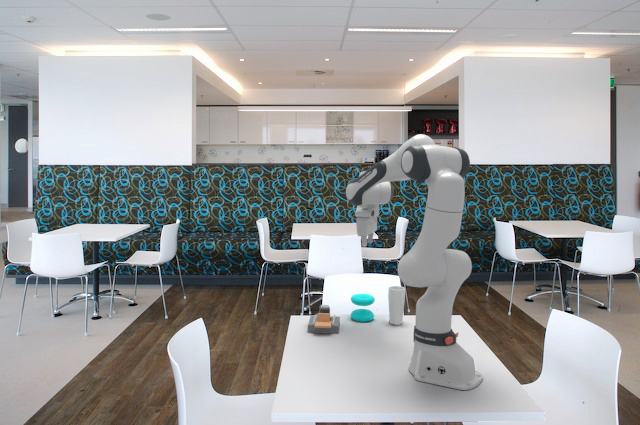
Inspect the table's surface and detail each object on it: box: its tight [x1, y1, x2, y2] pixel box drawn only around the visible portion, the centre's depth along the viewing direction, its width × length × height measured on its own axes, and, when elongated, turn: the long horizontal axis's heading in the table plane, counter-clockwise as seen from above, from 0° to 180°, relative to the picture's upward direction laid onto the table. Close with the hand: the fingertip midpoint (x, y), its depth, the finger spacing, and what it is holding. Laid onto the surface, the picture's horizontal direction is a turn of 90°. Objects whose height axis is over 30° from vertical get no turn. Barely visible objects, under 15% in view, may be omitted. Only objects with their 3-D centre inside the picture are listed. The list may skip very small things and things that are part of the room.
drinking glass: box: [387, 285, 406, 326], centre depth 206 cm, size 7×7×15 cm
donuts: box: [350, 293, 376, 323], centre depth 212 cm, size 10×10×10 cm
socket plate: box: [307, 313, 341, 335], centre depth 200 cm, size 12×12×4 cm
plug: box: [318, 304, 331, 315], centre depth 201 cm, size 4×4×9 cm
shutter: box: [315, 312, 332, 328], centre depth 193 cm, size 6×6×4 cm
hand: (367, 244), depth 202 cm, fingers open, 8 cm apart
